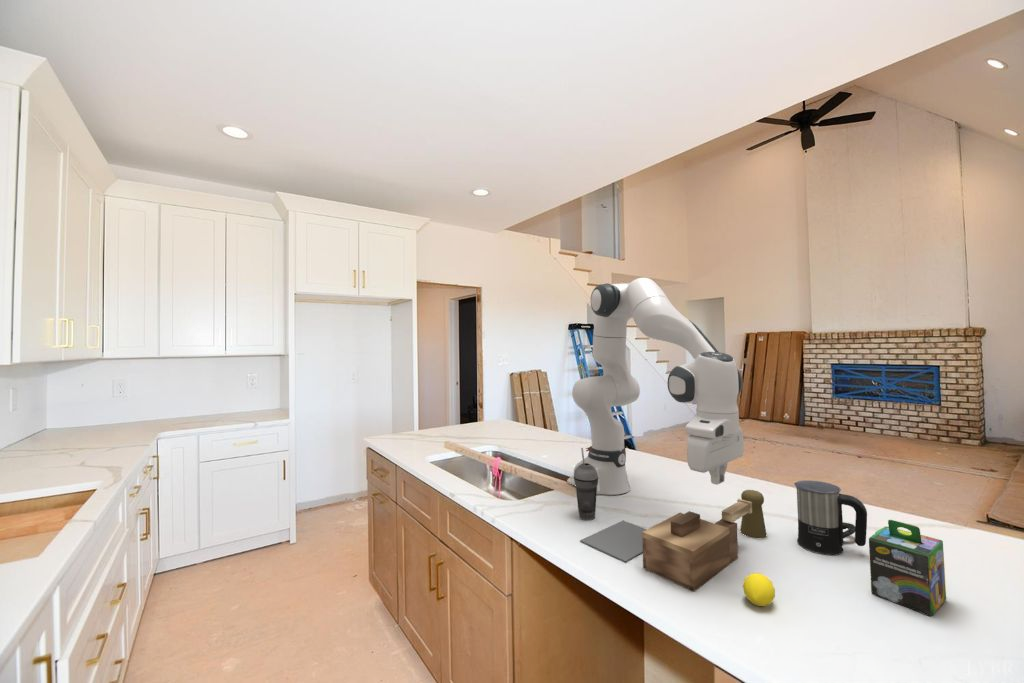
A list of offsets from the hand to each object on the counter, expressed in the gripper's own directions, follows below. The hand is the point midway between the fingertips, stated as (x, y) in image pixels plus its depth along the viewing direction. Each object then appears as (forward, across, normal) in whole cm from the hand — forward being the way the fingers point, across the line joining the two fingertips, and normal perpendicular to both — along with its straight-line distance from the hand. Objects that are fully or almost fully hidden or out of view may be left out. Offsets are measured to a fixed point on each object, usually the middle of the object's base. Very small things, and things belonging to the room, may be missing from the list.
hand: (717, 482), depth 99 cm
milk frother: (+18, -28, +13) cm, 36 cm away
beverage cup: (+19, +4, -36) cm, 41 cm away
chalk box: (+18, -13, +31) cm, 38 cm away
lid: (+12, +8, -4) cm, 15 cm away
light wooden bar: (+10, -8, +1) cm, 12 cm away
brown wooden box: (+18, +6, -3) cm, 19 cm away
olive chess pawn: (+18, -20, 0) cm, 27 cm away
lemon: (+18, +10, +12) cm, 24 cm away
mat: (+18, +8, -20) cm, 29 cm away
